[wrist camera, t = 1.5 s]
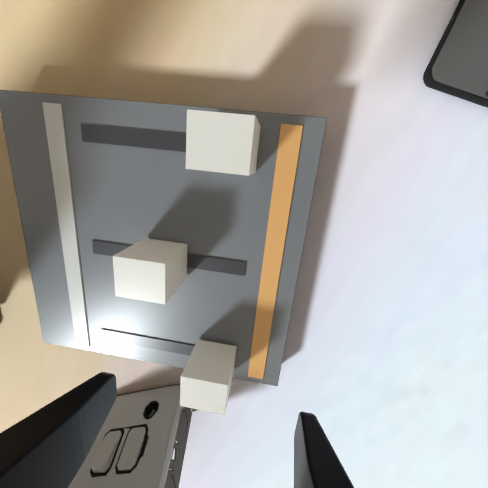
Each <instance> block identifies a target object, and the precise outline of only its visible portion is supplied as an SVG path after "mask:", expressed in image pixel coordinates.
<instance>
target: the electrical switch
mask: <svg viewBox="0 0 488 488" xmlns="http://www.w3.org/2000/svg"><path fill="white" fill-rule="evenodd" d="M191 416H192V412H191V411H190V410H189V409H188V408H187V407H183V406H180V386H179V385H174V386H168V387H163V388H158V389H152V390H147V391H142V392H137V393H131V394H126V395H121V396H117V397H116V400H115V403H114V405H113V407H112V409H111V410H110V412H109V414H108V416H107V418H106V420H105V422H104V424H103V426H102V428H101V430H100V432H99V434H98V436H97V438H96V440H95V442H94V444H93V446H92V448H91V450H90V452H89V453H88V455H87V457H86V459H85V461H84V462H83V464H82V466H81V467H80V469H79V471H78V472H77V474H76V476H75V477H74V479H73V480H72V482H71V484H70V485H69V487H68V488H178V487H179V481H180V476H181V470H182V465H183V459H184V454H185V448H186V443H187V438H188V432H189V427H190V421H191ZM175 440H176V441H177V442H178V443H176V441H175ZM174 448H175V458H174V460H172V455H173V450H174ZM170 469H172V470H170Z"/></svg>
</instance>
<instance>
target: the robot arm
mask: <svg viewBox="0 0 488 488" xmlns="http://www.w3.org/2000/svg"><path fill="white" fill-rule="evenodd" d="M116 397H117V388H116V377H115V375H114V374H111V373H106V372H101V373H99V374H97V375H95V376H94V377H92V378H90V379H89V380H87V381H86V382H84V383H82V384H81V385H79V386H77V387H76V388H74V389H72V390H71V391H69V392H67V393H66V394H64V395H63V396H61V397H59V398H58V399H56V400H54V401H53V402H51V403H49V404H48V405H46V406H44V407H43V408H41V409H39V410H38V411H36V412H35V413H33V414H31V415H30V416H28V417H26V418H25V419H23V420H21V421H20V422H18V423H16V424H15V425H13V426H12V427H10V428H8V429H7V430H5V431H3V432H2V433H0V488H68V487H69V485H70V484H71V482H72V480H73V479H74V477H75V476H76V474H77V472H78V471H79V469H80V467H81V466H82V464H83V462H84V461H85V459H86V457H87V455H88V453H89V452H90V450H91V448H92V446H93V444H94V442H95V440H96V438H97V436H98V434H99V432H100V430H101V428H102V426H103V424H104V422H105V420H106V418H107V416H108V414H109V412H110V410H111V409H112V407H113V405H114V403H115V400H116ZM294 488H354V487H353V485H352V483H351V481H350V479H349V477H348V476H347V474H346V472H345V470H344V468H343V466H342V464H341V463H340V461H339V459H338V457H337V455H336V453H335V451H334V450H333V448H332V446H331V444H330V442H329V440H328V438H327V437H326V435H325V433H324V431H323V429H322V427H321V425H320V424H319V422H318V420H317V418H316V416H315V415H314V414H312V413H306V412H300V413H299V416H298V421H297V425H296V429H295V436H294Z"/></svg>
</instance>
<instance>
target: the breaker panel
mask: <svg viewBox="0 0 488 488" xmlns="http://www.w3.org/2000/svg"><path fill="white" fill-rule="evenodd" d="M187 109H188V110H200V111H211V112H223V113H234V114H246V115H255V116H256V118H257V120H258V122H259V124H260V126H261V129H260V138H259V147H258V156H257V165H256V173H254V174H252V175H250V176H246V175H237V174H228V173H219V172H210V171H201V170H192V169H186V129H187ZM0 110H1V115H2V121H3V126H4V131H5V137H6V142H7V148H8V153H9V158H10V164H11V169H12V174H13V180H14V185H15V190H16V196H17V201H18V206H19V212H20V217H21V223H22V228H23V233H24V239H25V244H26V249H27V255H28V260H29V265H30V271H31V276H32V281H33V287H34V292H35V297H36V303H37V308H38V314H39V319H40V324H41V330H42V335H43V340H44V342H45V343H51V344H56V345H61V346H67V347H72V348H77V349H83V350H88V351H93V352H99V353H104V354H109V355H115V356H120V357H125V358H130V359H136V360H141V361H146V362H152V363H157V364H162V365H168V366H173V367H178V368H185V366H186V363H187V361H188V359H189V357H190V355H191V353H192V350H193V348H194V346H195V344H196V342H197V340H204V341H210V342H215V343H221V344H227V345H233V346H237V348H236V357H235V366H234V374H233V378H237V379H242V380H247V381H253V382H258V383H263V384H269V385H274V386H278V381H279V375H280V370H281V364H282V359H283V353H284V348H285V342H286V337H287V332H288V326H289V321H290V315H291V310H292V304H293V299H294V294H295V288H296V283H297V277H298V272H299V266H300V261H301V255H302V250H303V245H304V239H305V234H306V228H307V223H308V217H309V212H310V206H311V201H312V196H313V190H314V185H315V179H316V174H317V168H318V163H319V158H320V152H321V147H322V141H323V136H324V130H325V125H326V119H327V118H323V117H311V116H300V115H288V114H277V113H265V112H253V111H242V110H230V109H218V108H207V107H195V106H183V105H172V104H160V103H149V102H137V101H125V100H114V99H102V98H90V97H79V96H67V95H56V94H44V93H32V92H21V91H9V90H0ZM144 238H148V239H155V240H162V241H170V242H177V243H184V244H188V248H187V278H186V279H185V280H184V282H183V283H182V284H181V285H180V287H179V288H178V289H177V290H176V292H175V293H174V294H173V295H172V297H171V298H170V299H169V300H168V302H167V303H166V304H159V303H153V302H147V301H141V300H135V299H129V298H123V297H117V296H115V283H114V269H113V256H114V255H115V254H117V253H119V252H121V251H123V250H124V249H126V248H128V247H130V246H131V245H133V244H135V243H137V242H139V241H140V240H142V239H144Z"/></svg>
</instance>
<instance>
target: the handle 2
mask: <svg viewBox="0 0 488 488" xmlns="http://www.w3.org/2000/svg"><path fill="white" fill-rule="evenodd" d="M236 348H237V346H233V345H227V344H221V343H215V342H210V341H204V340H197V342H196V344H195V346H194V348H193V350H192V353H191V355H190V357H189V359H188V361H187V363H186V366H185V368H184V370H183V372H182V374H181V378H180V406H183V407H188V408H193V409H197V410H202V411H207V412H212V413H217V414H222V415H225V411H226V406H227V401H228V397H229V392H230V388H231V383H232V378H233V374H234V366H235V357H236Z"/></svg>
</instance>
